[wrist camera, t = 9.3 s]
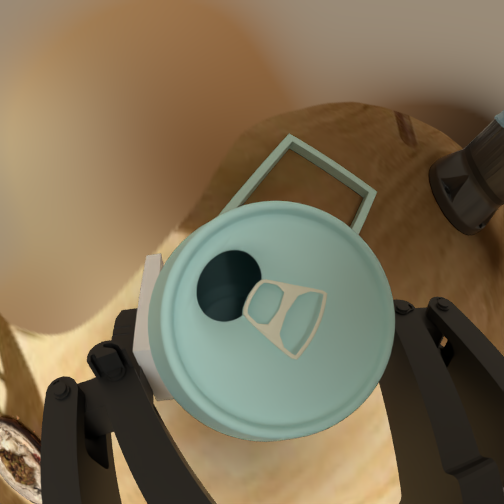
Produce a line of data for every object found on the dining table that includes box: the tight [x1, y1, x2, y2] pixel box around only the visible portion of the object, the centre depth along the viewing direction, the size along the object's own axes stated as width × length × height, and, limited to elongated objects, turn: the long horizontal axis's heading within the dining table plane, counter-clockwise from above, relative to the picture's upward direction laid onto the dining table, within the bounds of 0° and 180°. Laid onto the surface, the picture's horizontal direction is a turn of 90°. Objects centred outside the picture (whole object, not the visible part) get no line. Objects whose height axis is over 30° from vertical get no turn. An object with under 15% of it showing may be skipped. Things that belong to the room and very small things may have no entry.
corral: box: [217, 134, 377, 235], centre depth 31 cm, size 16×14×2 cm
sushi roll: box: [0, 416, 42, 504], centre depth 14 cm, size 15×15×4 cm
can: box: [148, 201, 395, 442], centre depth 11 cm, size 7×7×12 cm
